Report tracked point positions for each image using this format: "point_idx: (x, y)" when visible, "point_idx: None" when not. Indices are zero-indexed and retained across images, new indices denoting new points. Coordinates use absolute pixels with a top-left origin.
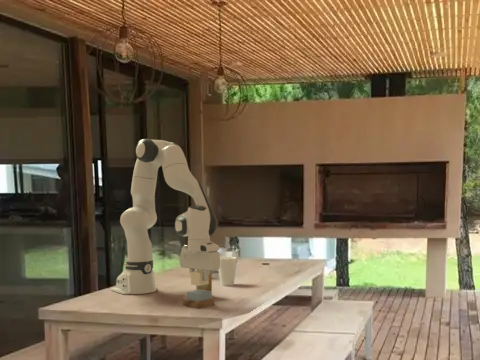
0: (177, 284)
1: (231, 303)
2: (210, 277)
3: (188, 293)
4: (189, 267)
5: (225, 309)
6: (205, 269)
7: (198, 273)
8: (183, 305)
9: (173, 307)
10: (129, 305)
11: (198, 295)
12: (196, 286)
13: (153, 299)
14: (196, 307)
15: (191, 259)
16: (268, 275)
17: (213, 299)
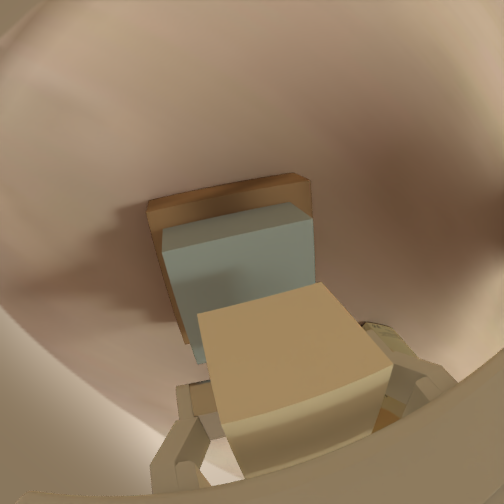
0: (498, 333)
1: (157, 383)
2: (375, 431)
3: (289, 219)
4: (454, 392)
5: (45, 305)
6: (136, 500)
7: (239, 413)
8: (289, 173)
9: (293, 100)
10: (456, 23)
11: (166, 245)
12: (411, 353)
13: (476, 164)
14: (166, 198)
15: (484, 492)
16: None
17: (182, 335)
